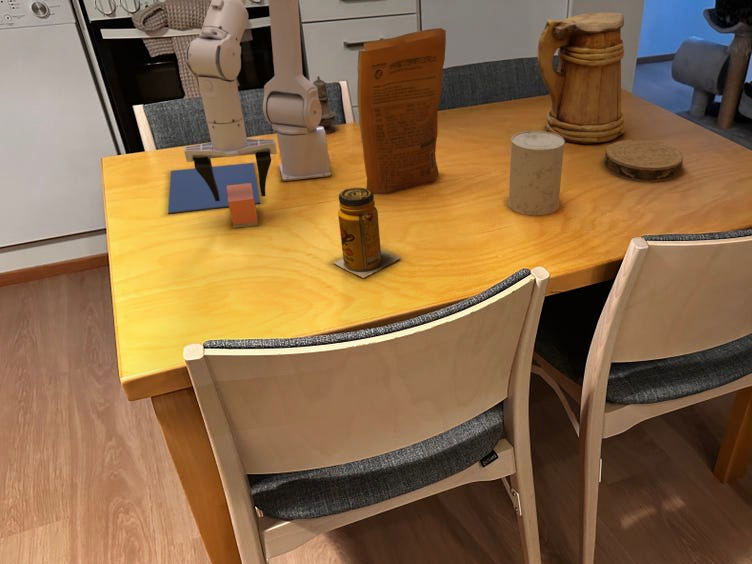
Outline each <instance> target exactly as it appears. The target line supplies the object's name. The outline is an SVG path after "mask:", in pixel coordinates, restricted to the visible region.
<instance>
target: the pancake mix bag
mask: <svg viewBox="0 0 752 564" xmlns="http://www.w3.org/2000/svg"><path fill="white" fill-rule="evenodd" d="M446 43H447V31H446V29H443V28H442V27H437V28H429V29H424V30H418V31H413V32H409V33H405V34H402V35H398V36H395V37H390V38H384V39H379V40H371V41H368V42H364V43H363V47H364V49H359V50H358V56H357V67H356V68H357V95H356V96H357V111H358V123H359V129H360V130H359V131H360V138H361V139H360V140H361V145H362V154H363V155H362V156H363V162H364V167H365V169H364V170H365V175H366V187H365V189H369V190H370V191H372V193H373V194H378V195H385V194H391V193H392V194H393V193H395V192H400V191H404V190H407V189H410V188H414V187H418V186H422V185H427V184H431V183H434V182H435V181H437V180H438V178H439V174H440V173H439V168H438V163H437V158H436V151H437V150H436V149H437V141H438V140H437V139H438V135H439V134H438V129H439V127H438V126H439V125H438V124H439V123H438V118H439V117H438V116H439V115H438V112H439V106H440V101H441V95H442V88H443V75H444V66H445V59H446V46H447V44H446Z"/></svg>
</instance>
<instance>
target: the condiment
mask: <svg viewBox="0 0 752 564" xmlns="http://www.w3.org/2000/svg"><path fill="white" fill-rule="evenodd" d="M338 202H339V210H338V211H337V212H338V213H337V217H338V224H339V234H340V240H341V241H340V242H341V250H342V251H341V252H342V258H340V259H338V260H336V261H333V262H332V264H333V265H334V264H335V265H336V266H338V267H340V268H341V269H344V270H345V271H348V272H350V273H352V274H354V275H356V276H359V277H361V278H363V279H364V278H366V277H368V276H371V275H372V274H375V273H377V272H378V271H380V270H382V269H383V268H385V267H386V266H389V265H391V264H393V263H395V262H397V261H398V260H400V259H402V256H399V255H396V254H394V253H391V252H388V251H387V250H384V249H382V248H381V237H380V224H379V212H378V209H377V207H376V205H375V202H376V201H375V195H374V193H372V191H370V190H369V189H366V187H349V188H345V189H344V190H342V191H340V192H339V194H338Z"/></svg>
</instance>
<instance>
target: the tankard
mask: <svg viewBox="0 0 752 564" xmlns="http://www.w3.org/2000/svg"><path fill="white" fill-rule="evenodd" d="M624 24H625V17H624V15H623V14H622V12H621V13H619V12H606V11H602V12H600V11H599V12H590V13H583V14H576V15H572V16H569V17H567V18H565V19H564V20H560V19H549V18H548V19H547V20H546V23H545V26H544V27H543V30H542V31H541V34H540V36H539V40H538V45H537V67H538V72H539V74H540V77H541V79H542V82H543V84H544V86H545V88H546V89H547V91H548V94H549V97H550V99H551V105H550V106H551V107H550V108H549V110H548V112H547V113H546V122H545V124H544V128H545V130H546V132H551V133H554V134H557V135H559V136H561V137H562V138H563V139H564V141H565V142H568V143H572V144H573V143H574V144H588V145H589V144H599V143H605V142H609V141H613V140H615V139H617V138H618V137H620V136H621V135H622V134H624V132H625V128H626V127H625V120H624V118H625V117H624V113H623V112H622V59H623V58H624V56H625V50H624V40H623V39H622V38H621V35H622V31H621V29H622V28H623V27H624ZM556 52H557V56H558V57H559V61H558V66H557V70H555V69H554V65H553V62H554V56H555V54H556Z"/></svg>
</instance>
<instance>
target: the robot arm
mask: <svg viewBox="0 0 752 564" xmlns="http://www.w3.org/2000/svg"><path fill="white" fill-rule="evenodd" d="M247 1H248V0H211V1H210V5H209V7H208V10H207V13H206V16H205V19H204V21H203V24H202V27H201V30H200V32H199V35H198V37H195V38H194V39H193V40H192V41H190V42H189V43H188V44H187V46H186V49H185V61H184V63H185V67H186V69H187V71H188V73H189V74H190V76H192V78H193V82H194V86H195V87H196V89H197V90H199V91H200V96H201V101H202V106H203V110H204V115H205V120H206V124H207V128H208V134H209V138H210V141H209V142H205V143H201V144H200V143H199V144H195V145H189V146H188V145H187V146H184V147H183V148H184V149H183V153H184V156H185V161H186V162H187V163H192V162H193V164H194V169H196V170H197V172H198V173H199V174H200V175H201V176H202V178H203V179H204V180H205V182H206V183H207V185H208V186H209V188H210V190H211V192H212V193H213V196H214V198H215V201H220V198H219V192H218V188H217V185H216V182H215V178H214V174H213V169H212V167H213V164H212V159H218V158H219V159H220V158H235V157H243V156H250V155H251V156H253V155H254V156H255V161H256V167H257V172H258V184H259V189H260V190H259V191H260V195H261V197H266V186H267V185H266V182H267V177H268V173H269V170H270V166H271V163H272V156H271V155H277V154H278V152H277V145H276V140H275V138H268V139H266V138H265V139H264V138H263V139H262V138H248V136H247V132H246V127H245V121H244V115H243V110H242V104H241V99H240V93H239V88H238V83H237V77H238V76H239V73H240V72H241V68H242V58H241V54H242V46H241V45H240V44H241V40H242V38H243V35H244V32H245V29H246V26H247V23H248V20H249V12H248V10H247V9H246V6H245V5H246V3H247ZM268 10H269V22H270V35H271V47H272V62H273V71H274V73H273V74H274V76H273V77H272V78H271V79H270V80H269V81H267V82H266V83H265V84H264V86H263V91H264V92H263V93H264V94H263V101H262V114H263V116H264V118H265V121H266V122H267V123H268V124H269V125H270V126H271V127H272V130H273V131H276V137H277V142H278V149H279V156H280V162H281V164H278V167H279V170H280V174H281V178H282V181H283V182H287V181H296V180H297V181H298V180H307V179H317V178H327V177H331V176H332V173H331V166H330V165H331V164H330V163H331V159H330V153H329V148H328V147H329V146H328V141H327V135H326V134H325V130H324V127H323V126H318V125H319V123H320V121H321V116H322V109H321V104H320V101H319V97H318V91H317V87H316V86H315V85H314V84H313V82H311V81H310V80H309V79H308V78H307V77H305V76H304V73H303V57H302V45H301V27H300V13H299V11H300V10H299V0H268Z"/></svg>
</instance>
